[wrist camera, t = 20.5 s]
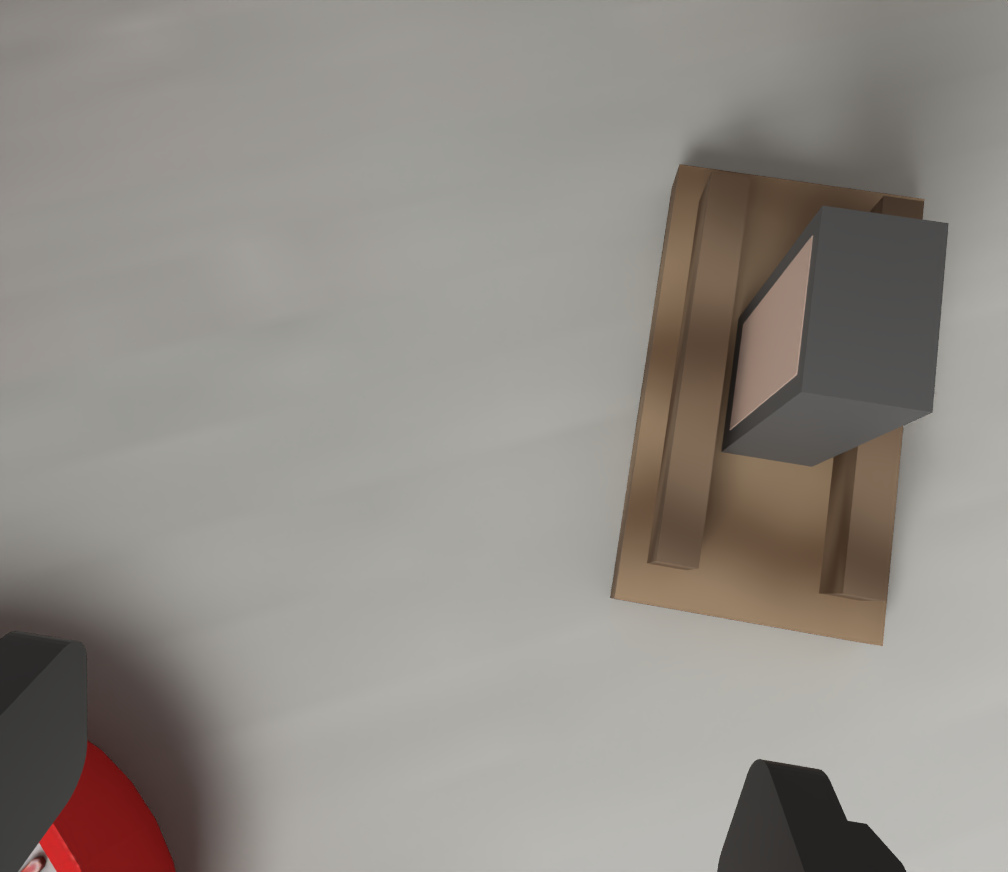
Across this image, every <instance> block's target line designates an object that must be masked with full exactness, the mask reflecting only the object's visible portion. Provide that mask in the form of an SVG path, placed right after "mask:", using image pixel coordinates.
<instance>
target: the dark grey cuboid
mask: <svg viewBox="0 0 1008 872" xmlns="http://www.w3.org/2000/svg"><path fill="white" fill-rule="evenodd" d="M947 234H948V223H942V222H935V221H928V220H921V219H914V218H907V217H900V216H893V215H886V214H879V213H872V212H865V211H858V210H851V209H843V208H836V207H829V206H822V207H821V208H820V210H819V211H818V212H817V214H816V215H815V216H814V218H813V219H812V220H811V222H810V223H809V224H808V226H807V227H806V228H805V230H804V231H803V232H802V234H801V235H800V236H799V238H798V239H797V240H796V242H795V243H794V245H793V246H792V247H791V249H790V250H789V251H788V253H787V254H786V255H785V257H784V258H783V259H782V261H781V262H780V263H779V265H778V266H777V267H776V269H775V270H774V271H773V273H772V274H771V275H770V277H769V278H768V279H767V281H766V282H765V283H764V285H763V286H762V288H761V289H760V290H759V292H758V293H757V294H756V296H755V297H754V298H753V300H752V301H751V302H750V304H749V305H748V306H747V308H746V309H745V310H744V312H743V313H742V314H741V316H740V317H739V318H738V326H737V334H736V341H735V349H734V357H733V365H732V373H731V380H730V388H729V396H728V404H727V411H726V419H725V427H724V435H723V442H722V450H721V452H724V453H730V454H736V455H742V456H749V457H755V458H761V459H767V460H773V461H779V462H785V463H792V464H798V465H804V466H810V467H813V466H815V465H817V464H819V463H821V462H824V461H826V460H828V459H830V458H833V457H835V456H837V455H839V454H841V453H844V452H846V451H848V450H850V449H852V448H855V447H857V446H859V445H861V444H864V443H866V442H868V441H870V440H872V439H875V438H877V437H879V436H881V435H883V434H886V433H888V432H890V431H892V430H894V429H897V428H899V427H901V426H903V425H906V424H908V423H910V422H912V421H914V420H917V419H919V418H921V417H923V416H925V415H928V414H930V413H932V411H933V399H934V387H935V376H936V364H937V352H938V340H939V328H940V316H941V305H942V293H943V281H944V269H945V257H946V246H947Z"/></svg>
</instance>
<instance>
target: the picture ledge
mask: <svg viewBox="0 0 1008 872" xmlns="http://www.w3.org/2000/svg"><path fill="white" fill-rule="evenodd" d="M822 206H829V207H836V208H843V209H851V210H858V211H865V212H872V213H879V214H886V215H893V216H900V217H907V218H914V219H921V220H922V219H923V208H924V199H919V198H912V197H905V196H898V195H891V194H884V193H877V192H870V191H863V190H856V189H849V188H842V187H835V186H828V185H821V184H814V183H807V182H800V181H793V180H786V179H779V178H772V177H765V176H758V175H751V174H744V173H737V172H730V171H723V170H716V169H709V168H702V167H695V166H687V165H679V168H678V171H677V174H676V177H675V180H674V183H673V186H672V191H671V197H670V204H669V211H668V217H667V224H666V231H665V237H664V244H663V251H662V257H661V264H660V270H659V277H658V284H657V290H656V297H655V304H654V310H653V317H652V324H651V330H650V337H649V344H648V350H647V357H646V364H645V370H644V377H643V383H642V390H641V397H640V403H639V410H638V417H637V423H636V430H635V437H634V443H633V450H632V457H631V463H630V470H629V476H628V483H627V490H626V496H625V503H624V510H623V516H622V523H621V530H620V536H619V543H618V550H617V556H616V563H615V569H614V576H613V583H612V589H611V596H610V598H614V599H619V600H625V601H630V602H636V603H642V604H647V605H653V606H659V607H664V608H670V609H675V610H681V611H687V612H692V613H698V614H704V615H709V616H715V617H720V618H726V619H732V620H737V621H743V622H749V623H754V624H760V625H765V626H771V627H777V628H782V629H788V630H793V631H799V632H805V633H810V634H816V635H822V636H827V637H833V638H838V639H844V640H850V641H855V642H861V643H867V644H874V645H880V646H883V636H884V626H885V615H886V604H887V594H888V583H889V573H890V562H891V551H892V540H893V530H894V519H895V508H896V497H897V487H898V476H899V465H900V455H901V444H902V433H903V426H901V427H899V428H897V429H894V430H892V431H890V432H888V433H886V434H883V435H881V436H879V437H877V438H875V439H872V440H870V441H868V442H866V443H864V444H861V445H859V446H857V447H855V448H852V449H850V450H848V451H846V452H844V453H841V454H839V455H837V456H835V457H833V458H830V459H828V460H826V461H824V462H821V463H819V464H817V465H815V466H813V467H810V466H804V465H798V464H792V463H785V462H779V461H773V460H767V459H761V458H755V457H749V456H742V455H736V454H730V453H724V452H721V450H722V442H723V435H724V427H725V419H726V411H727V404H728V396H729V388H730V380H731V373H732V365H733V357H734V349H735V341H736V334H737V326H738V318H739V317H740V316H741V314H742V313H743V312H744V310H745V309H746V308H747V306H748V305H749V304H750V302H751V301H752V300H753V298H754V297H755V296H756V294H757V293H758V292H759V290H760V289H761V288H762V286H763V285H764V283H765V282H766V281H767V279H768V278H769V277H770V275H771V274H772V273H773V271H774V270H775V269H776V267H777V266H778V265H779V263H780V262H781V261H782V259H783V258H784V257H785V255H786V254H787V253H788V251H789V250H790V249H791V247H792V246H793V245H794V243H795V242H796V240H797V239H798V238H799V236H800V235H801V234H802V232H803V231H804V230H805V228H806V227H807V226H808V224H809V223H810V222H811V220H812V219H813V218H814V216H815V215H816V214H817V212H818V211H819V210H820V208H821V207H822Z"/></svg>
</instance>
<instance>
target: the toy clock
mask: <svg viewBox="0 0 1008 872" xmlns="http://www.w3.org/2000/svg"><path fill="white" fill-rule="evenodd" d="M18 872H176V871H175V867H174V863H173V860H172V857H171V855H170V853H169V850H168V848H167V845H166V843H165V841H164V838H163V836H162V833H161V831H160V829H159V826H158V824H157V821H156V819H155V817H154V816H153V814H152V813H151V811H150V810H149V808H148V807H147V805H146V804H145V802H144V800H143V799H142V797H141V796H140V794H139V793H138V791H137V790H136V788H135V786H134V785H133V783H132V782H131V781H130V780H129V779H128V778H127V776H126V775H125V774H124V773H123V772H122V771H121V770H120V769H119V768H118V767H117V766H116V765H115V764H114V763H113V762H112V761H111V760H110V759H109V757H108V756H107V755H106V754H105V753H104V752H103V751H102V750H101V749H99V748H98V747H96V746H95V745H94V744H92V743H91V742H89V741H88V740H87V752H86V758H85V763H84V767H83V770H82V773H81V776H80V779H79V781H78V784H77V786H76V788H75V790H74V792H73V794H72V796H71V798H70V800H69V801H68V803H67V804H66V806H65V807H64V808H63V810H62V811H61V813H60V814H59V815H58V817H57V818H56V820H55V821H54V822H53V824H52V825H51V827H50V828H49V829H48V831H47V832H46V834H45V835H44V836H43V838H42V839H41V841H40V842H39V843H38V845H37V846H36V848H35V849H34V850H33V852H32V853H31V854H30V856H29V857H28V859H27V860H26V861H25V863H24V864H23V866H22V867H21V868H20V870H19V871H18Z"/></svg>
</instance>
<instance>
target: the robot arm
mask: <svg viewBox="0 0 1008 872" xmlns="http://www.w3.org/2000/svg"><path fill="white" fill-rule="evenodd" d="M86 752H87V656H86V650H85V648H84V645H83V644H82V643H81V642H79V641H73V640H67V639H61V638H55V637H49V636H43V635H38V634H32V633H26V632H20V631H14V632H10V633H8V634H7V635H5V636H4V637H3V638H1V639H0V872H18V871H19V870H20V868H21V867H22V866H23V864H24V863H25V861H26V860H27V859H28V857H29V856H30V854H31V853H32V852H33V850H34V849H35V848H36V846H37V845H38V843H39V842H40V841H41V839H42V838H43V836H44V835H45V834H46V832H47V831H48V829H49V828H50V827H51V825H52V824H53V822H54V821H55V820H56V818H57V817H58V815H59V814H60V813H61V811H62V810H63V808H64V807H65V806H66V804H67V803H68V801H69V800H70V798H71V796H72V794H73V792H74V790H75V788H76V786H77V784H78V781H79V779H80V776H81V773H82V770H83V767H84V763H85V758H86ZM717 872H906V870H905V868H904V866H903V864H902V863H901V862H900V861H899V860H898V858H897V857H896V856H895V855H894V854H893V853H892V852H891V851H890V849H889V848H888V847H887V846H886V845H885V844H884V843H883V842H882V841H881V839H880V838H879V837H878V836H877V835H876V834H875V833H874V832H873V830H872V829H871V828H870V827H869V826H868V825H867V824H863V823H857V822H852V821H847V819H846V816H845V814H844V812H843V809H842V807H841V805H840V803H839V800H838V798H837V796H836V793H835V791H834V789H833V787H832V784H831V782H830V780H829V778H828V776H827V775H826V774H825V773H824V772H823V771H822V770H819V769H814V768H808V767H802V766H797V765H791V764H785V763H779V762H773V761H767V760H761V759H758V760H756V761H754V763H753V764H752V765H751V767H750V769H749V771H748V774H747V777H746V780H745V783H744V786H743V789H742V792H741V795H740V798H739V801H738V804H737V807H736V810H735V813H734V816H733V819H732V822H731V825H730V828H729V831H728V834H727V837H726V840H725V843H724V846H723V849H722V852H721V855H720V859H719V864H718V871H717Z"/></svg>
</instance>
